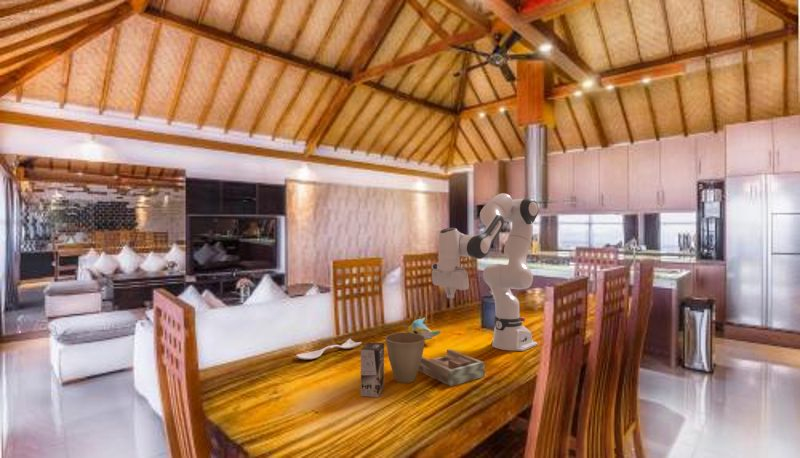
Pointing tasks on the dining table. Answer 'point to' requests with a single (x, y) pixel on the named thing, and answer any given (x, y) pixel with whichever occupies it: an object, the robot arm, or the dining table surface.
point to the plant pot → (405, 355)
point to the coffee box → (372, 369)
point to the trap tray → (452, 376)
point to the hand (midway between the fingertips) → (450, 297)
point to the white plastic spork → (317, 353)
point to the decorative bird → (422, 329)
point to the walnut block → (457, 363)
